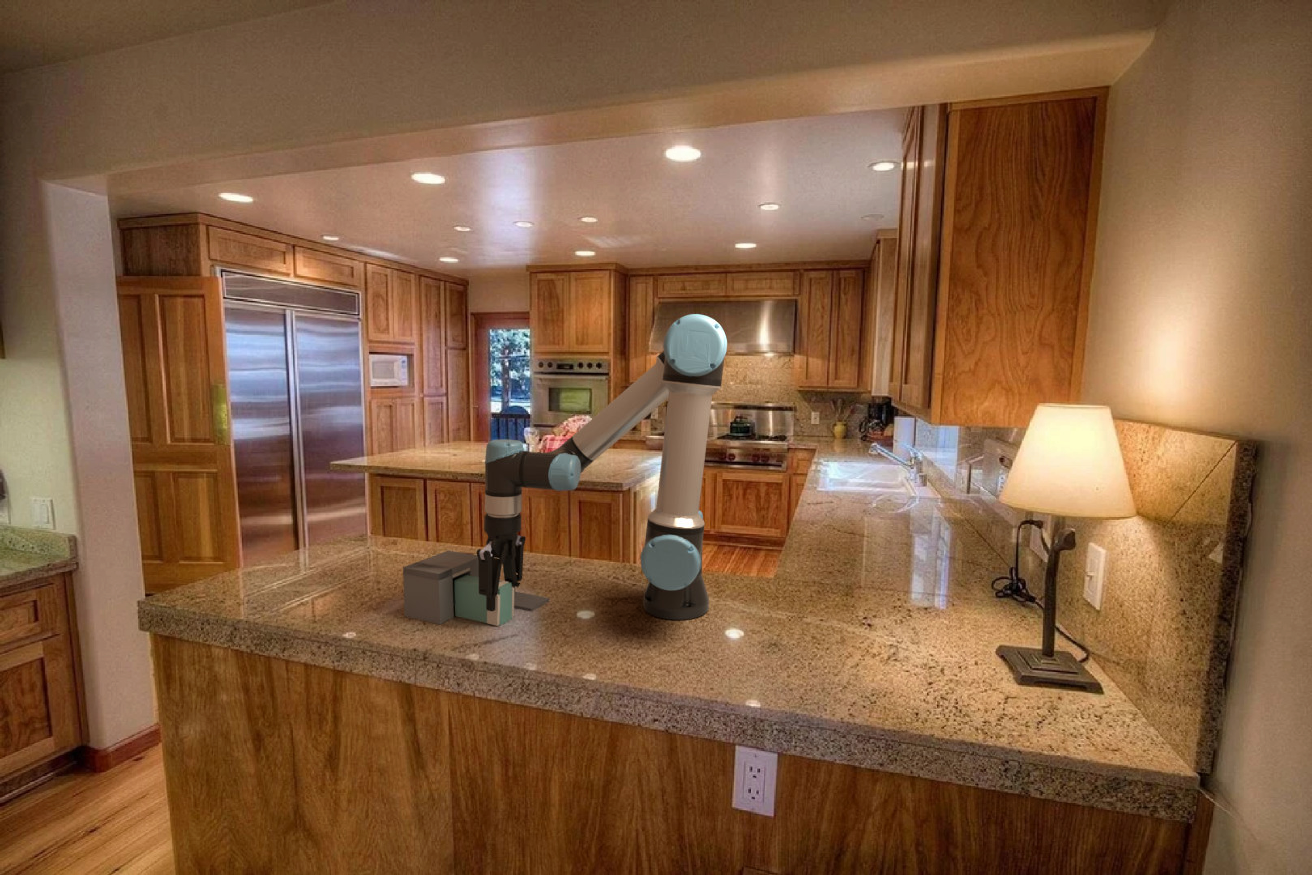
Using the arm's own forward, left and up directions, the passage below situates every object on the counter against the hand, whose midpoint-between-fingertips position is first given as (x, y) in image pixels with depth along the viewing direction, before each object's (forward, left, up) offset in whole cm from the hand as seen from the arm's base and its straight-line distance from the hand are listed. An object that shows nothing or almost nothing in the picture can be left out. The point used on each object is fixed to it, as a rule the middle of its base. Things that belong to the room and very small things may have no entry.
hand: (500, 619), depth 123 cm
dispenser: (+15, 0, 0) cm, 16 cm away
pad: (+3, -11, 0) cm, 11 cm away
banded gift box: (+5, 0, 0) cm, 5 cm away
